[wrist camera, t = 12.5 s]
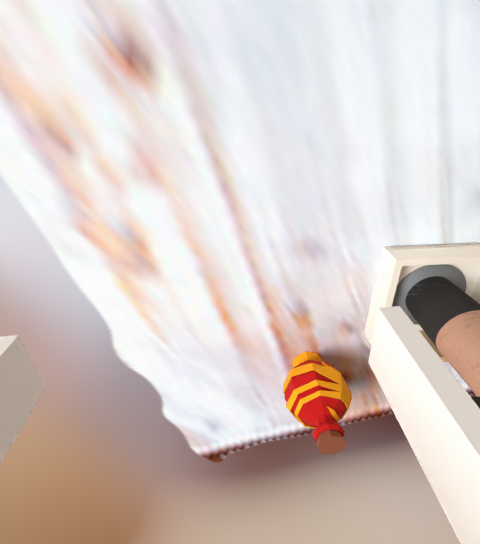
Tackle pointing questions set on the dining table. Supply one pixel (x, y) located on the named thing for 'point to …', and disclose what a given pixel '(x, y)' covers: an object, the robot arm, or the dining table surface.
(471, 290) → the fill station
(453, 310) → the travel mug
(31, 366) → the robot arm
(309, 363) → the potion bottle
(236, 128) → the dining table surface
